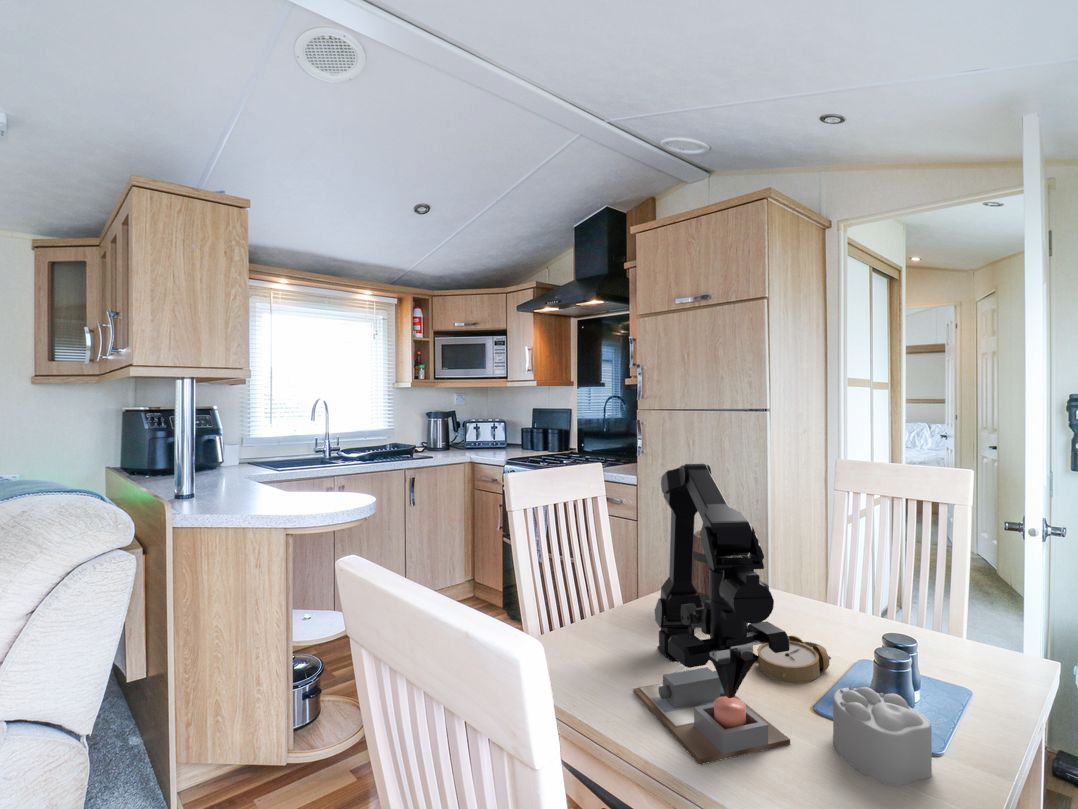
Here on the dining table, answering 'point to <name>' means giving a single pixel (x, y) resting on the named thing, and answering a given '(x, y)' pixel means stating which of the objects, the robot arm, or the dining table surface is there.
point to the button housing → (731, 730)
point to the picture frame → (689, 735)
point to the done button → (729, 712)
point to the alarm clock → (793, 661)
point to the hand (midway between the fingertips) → (729, 696)
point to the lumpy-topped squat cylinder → (882, 736)
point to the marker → (691, 687)
